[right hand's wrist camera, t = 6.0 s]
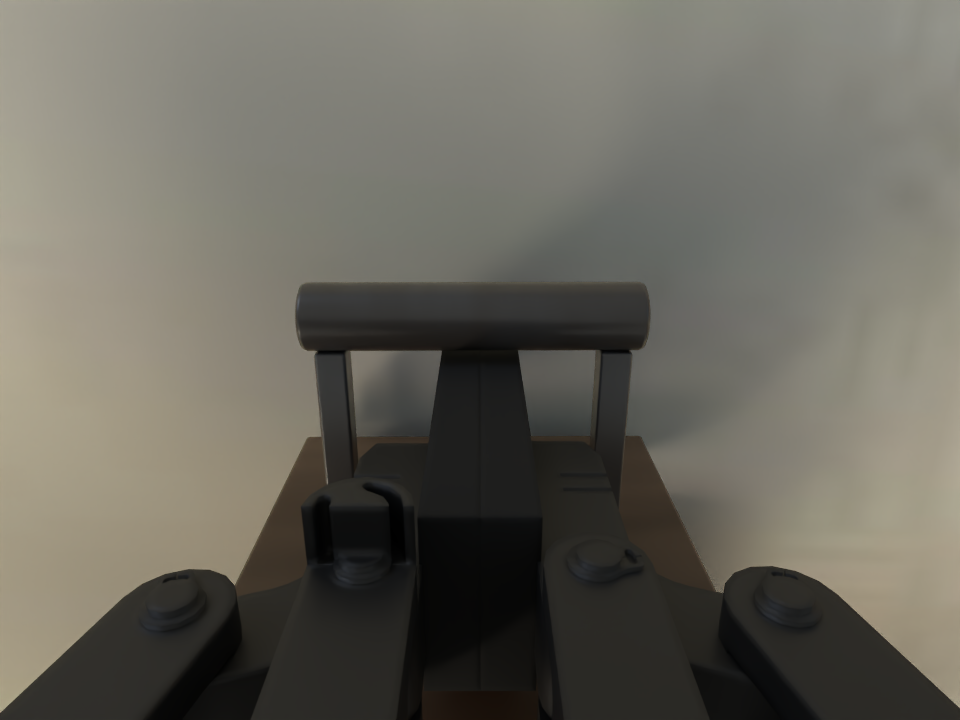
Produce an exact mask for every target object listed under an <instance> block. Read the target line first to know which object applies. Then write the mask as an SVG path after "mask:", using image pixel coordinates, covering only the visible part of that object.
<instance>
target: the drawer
mask: <svg viewBox="0 0 960 720" xmlns="http://www.w3.org/2000/svg"><path fill="white" fill-rule="evenodd" d="M295 322H296V331H297V336H298V340H299V343H300V345H301V347H302V348H303V349H305V350H307V351H317V352H316V353H315V355H314V360H315V371H316V382H317V392H318V403H319V414H320V424H321V435H322V437H309V438H307V440H306V442H305V444H304V446H303V448H302V450H301V452H300V454H299V456H298V458H297V460H296V462H295V464H294V466H293V468H292V470H291V472H290V474H289V476H288V478H287V480H286V482H285V485H284V487H283V489H282V491H281V493H280V495H279V497H278V499H277V501H276V503H275V505H274V507H273V509H272V511H271V513H270V515H269V517H268V519H267V521H266V523H265V525H264V527H263V529H262V531H261V533H260V535H259V537H258V540H257V542H256V544H255V546H254V548H253V550H252V552H251V554H250V556H249V558H248V560H247V562H246V564H245V566H244V568H243V570H242V572H241V574H240V576H239V578H238V580H237V582H236V584H235V588H236V594H237V596H241V595H245V594H250V593H254V592H259V591H263V590H268V589H272V588H275V587H279V586H282V585H285V584H288V583H290V582H292V581H295V580H297V579H299V578H301V577H303V575H304V572H305V569H306V567H307V559H306V550H305V541H304V532H303V523H302V514H301V505H302V504H303V503H304V502H305V500H306V499H307V498H308V497H309V495H310V494H312V493H313V492H315V491H317V490H318V489H320V488H322V487H323V486H325V485H328V484H331V483H334V482H337V481H341V480H344V479H351V478H354V473H355V470H356V467H357V464H358V461H359V458H360V457H361V456H363V455H364V454H365V453H366V452H367V451H368V450H369V449H371V448H372V447H373V446H374V445H375V444H376V443H428V442H429V437H357V434H356V421H355V407H354V393H353V380H352V366H351V352H350V351H453V350H596V357H595V373H594V388H593V404H592V419H591V434H590V436H531V441H584V442H585V443H586V444H588V445H589V446H590V447H591V448H592V449H593V450H594V451H596V452H597V453H598V454H599V455H600V456H601V458H602V461H603V464H604V467H605V470H606V476H607V477H608V479H609V482H610V485H611V491H613V494H614V497H615V500H616V503H617V506H618V509H619V512H620V515H621V518H622V521H623V524H624V527H625V530H626V533H627V536H628V539H629V541H630V542H632V543H633V544H635V545H636V546H637V547H639V548H640V549H642V550H643V551H644V552H645V553H646V555H647V556H648V558H649V559H650V561H651V562H652V563H653V566H654V568H655V571H656V573H657V574H659V575H661V576H663V577H665V578H667V579H670V580H672V581H674V582H678V583H681V584H685V585H688V586H692V587H696V588H701V589H705V590H710V591H715V588H714V586H713V584H712V582H711V580H710V578H709V576H708V574H707V572H706V570H705V568H704V566H703V564H702V562H701V560H700V558H699V556H698V553H697V551H696V549H695V547H694V545H693V543H692V541H691V539H690V537H689V535H688V533H687V531H686V529H685V527H684V525H683V523H682V521H681V519H680V516H679V514H678V512H677V510H676V508H675V506H674V504H673V502H672V500H671V498H670V496H669V494H668V492H667V490H666V488H665V486H664V484H663V482H662V479H661V477H660V475H659V473H658V471H657V469H656V467H655V465H654V463H653V461H652V459H651V457H650V455H649V453H648V451H647V449H646V447H645V445H644V442H643V440H642V438H641V437H640V436H625V435H626V423H627V412H628V400H629V388H630V377H631V365H632V353H631V351H630V350H639V349H642V348H643V347H644V346H645V344H646V341H647V338H648V335H649V329H650V301H649V295H648V292H647V289H646V286H645V285H644V284H643V283H641V282H324V283H304V284H302V285H301V286H300V288H299V291H298V294H297V299H296V307H295ZM715 592H716V591H715ZM422 716H423V720H537V716H538V685H537V679H536V691H424V679H423V689H422Z"/></svg>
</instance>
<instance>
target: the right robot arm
mask: <svg viewBox="0 0 960 720" xmlns="http://www.w3.org/2000/svg"><path fill="white" fill-rule="evenodd" d="M301 514H302V523H303V532H304V541H305V550H306V559H307V567H306V569H305V572H304V575H303V577H301V578H299V579H297V580H295V581H292V582H290V583H288V584H285V585H282V586H279V587H275V588H272V589H268V590H263V591H259V592H254V593H250V594H245V595H241V596H237V594H236V588H235V586H234V584H233V583H232V582H231V581H230V580H229V579H228V578H227V576H225V575H222V574H220V573H217V572H214V571H211V570H194V569H188V570H183V571H178V572H173V573H168V574H164V575H162V576H160V577H157V578H155V579H153V580H150V581H148V582H146V583H143V584H142V585H140V586H139V587H137V588H136V589H135V590H133V591H132V592H131V593H129V594H128V595H126V596H125V597H124V598H122V599H121V600H120V601H119V602H118V603H117V604H116V605H115V606H114V607H113V608H112V609H111V610H110V611H109V612H108V613H106V614H105V615H104V616H103V617H102V618H101V619H100V620H99V621H98V622H97V623H96V624H95V625H94V626H93V627H92V628H90V629H89V630H88V631H87V632H86V633H85V634H84V635H83V636H82V637H81V638H80V639H79V640H78V641H77V642H76V643H75V644H73V645H72V646H71V647H70V648H69V649H68V650H67V651H66V652H65V653H64V654H63V655H62V656H61V657H60V658H59V659H57V660H56V661H55V662H54V663H53V664H52V665H51V666H50V667H49V668H48V669H47V670H46V671H45V672H44V673H43V674H41V675H40V676H39V677H38V678H37V679H36V680H35V681H34V682H33V683H32V684H31V685H30V686H29V687H28V688H27V689H25V690H24V691H23V692H22V693H21V694H20V695H19V696H18V697H17V698H16V699H15V700H14V701H13V702H12V703H11V704H9V705H8V706H7V707H6V708H5V709H4V710H3V711H2V712H1V713H0V720H423V716H422V689H423V679H424V691H536V679H537V685H538V716H537V720H960V708H959V707H958V706H957V705H956V704H954V703H953V702H952V701H951V700H950V699H949V698H948V697H947V696H946V695H945V694H944V693H943V692H942V691H940V690H939V689H938V688H937V687H936V686H935V685H934V684H933V683H932V682H931V681H930V680H929V679H928V678H927V677H925V676H924V675H923V674H922V673H921V672H920V671H919V670H918V669H917V668H916V667H915V666H914V665H913V664H911V663H910V662H909V661H908V660H907V659H906V658H905V657H904V656H903V655H902V654H901V653H900V652H899V651H898V650H896V649H895V648H894V647H893V646H892V645H891V644H890V643H889V642H888V641H887V640H886V639H885V638H884V637H882V636H881V635H880V634H879V633H878V632H877V631H876V630H875V629H874V628H873V627H872V626H871V625H870V624H869V623H867V622H866V621H865V620H864V619H863V618H862V617H861V616H860V615H859V614H858V613H857V612H856V611H855V610H853V609H852V608H851V607H850V606H849V605H848V604H847V603H846V602H845V601H844V600H843V599H842V598H841V597H839V596H838V595H837V594H836V593H835V592H833V591H832V590H830V589H829V588H828V587H826V586H825V585H823V584H822V583H821V582H819V581H817V580H815V579H813V578H810V577H808V576H806V575H803V574H801V573H799V572H796V571H792V570H788V569H783V568H778V567H773V566H766V567H749V568H746V569H744V570H741V571H738V572H735V573H734V574H733V575H732V576H731V577H730V578H729V580H728V581H727V582H726V583H725V588H724V593H719V592H715V591H710V590H705V589H701V588H696V587H692V586H688V585H685V584H681V583H678V582H674V581H672V580H670V579H667V578H665V577H663V576H661V575H659V574H657V573H656V571H655V568H654V566H653V563H652V562H651V561H650V559H649V558H648V556H647V555H646V553H645V552H644V551H643V550H642V549H640V548H639V547H637V546H636V545H635V544H633V543H632V542H630V541H629V539H628V536H627V533H626V530H625V527H624V524H623V521H622V518H621V515H620V512H619V509H618V506H617V503H616V500H615V497H614V494H613V491H611V485H610V482H609V479H608V477H607V476H606V470H605V467H604V464H603V461H602V458H601V456H600V455H599V454H598V453H597V452H596V451H594V450H593V449H592V448H591V447H590V446H589V445H588V444H586V443H585V442H584V441H531V436H530V429H529V422H528V415H527V409H526V402H525V395H524V389H523V382H522V375H521V369H520V362H519V355H518V350H453V351H442V355H441V362H440V369H439V375H438V382H437V389H436V395H435V402H434V409H433V415H432V422H431V429H430V436H429V442H428V443H376V444H375V445H374V446H373V447H372V448H371V449H369V450H368V451H367V452H366V453H365V454H364V455H363V456H361V457H360V458H359V461H358V464H357V467H356V470H355V473H354V478H351V479H344V480H341V481H337V482H334V483H331V484H328V485H325V486H323V487H322V488H320V489H318V490H317V491H315V492H313V493H312V494H310V495H309V497H308V498H307V499H306V500H305V502H304V503H303V504H302V505H301Z"/></svg>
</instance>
